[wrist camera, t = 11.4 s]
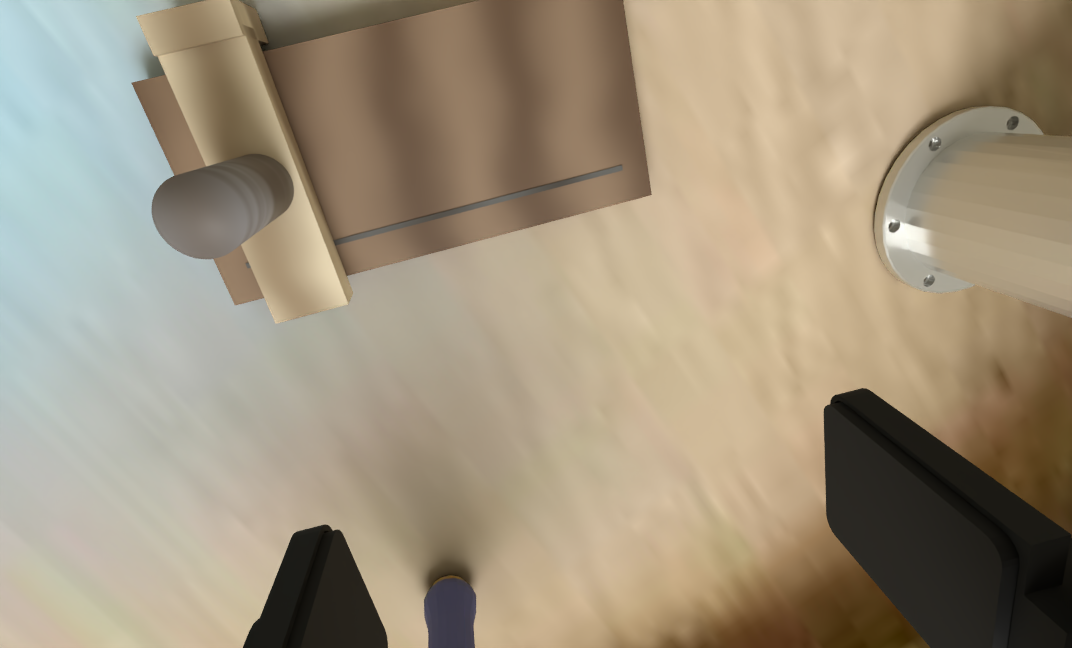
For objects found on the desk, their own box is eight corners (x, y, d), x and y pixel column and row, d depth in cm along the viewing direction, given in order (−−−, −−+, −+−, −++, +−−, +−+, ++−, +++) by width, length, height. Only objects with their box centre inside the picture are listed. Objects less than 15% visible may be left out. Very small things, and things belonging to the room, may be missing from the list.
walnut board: (607, -26, 32) (618, -34, 30) (640, 190, 36) (652, 195, 34) (150, 83, 30) (130, 82, 28) (245, 294, 35) (234, 306, 33)
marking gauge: (256, 9, 29) (148, -45, 18) (357, 282, 35) (321, 366, 24) (177, 27, 29) (21, -16, 18) (292, 300, 35) (226, 392, 24)
